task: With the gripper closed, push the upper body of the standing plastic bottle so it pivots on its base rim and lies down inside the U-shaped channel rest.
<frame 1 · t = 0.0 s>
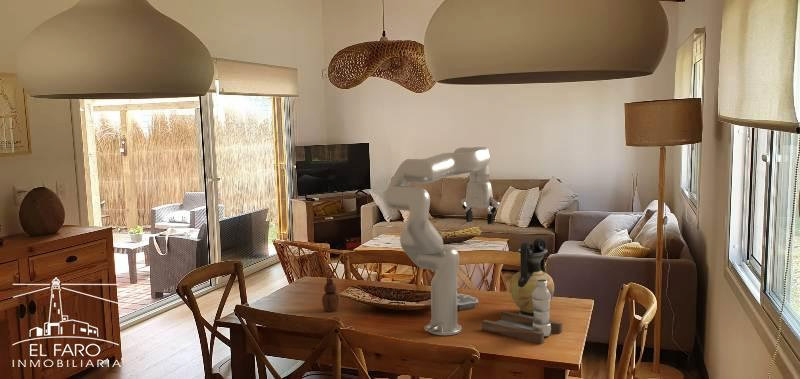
hand: (479, 222, 251), 37 cm above the table, tool pointing down, fingers open, 9 cm apart
wooden figurine: (331, 311, 265), on the table
brain slice: (453, 306, 269), on the table
amphora: (531, 315, 254), on the table
plastic bottle: (541, 336, 229), on the table
u rest: (521, 331, 235), on the table
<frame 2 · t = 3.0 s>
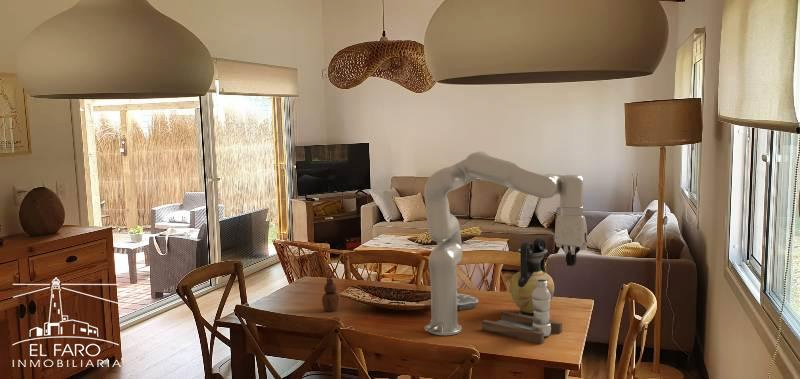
hand: (571, 265, 219), 27 cm above the table, tool pointing down, fingers closed
nothing on the table moved.
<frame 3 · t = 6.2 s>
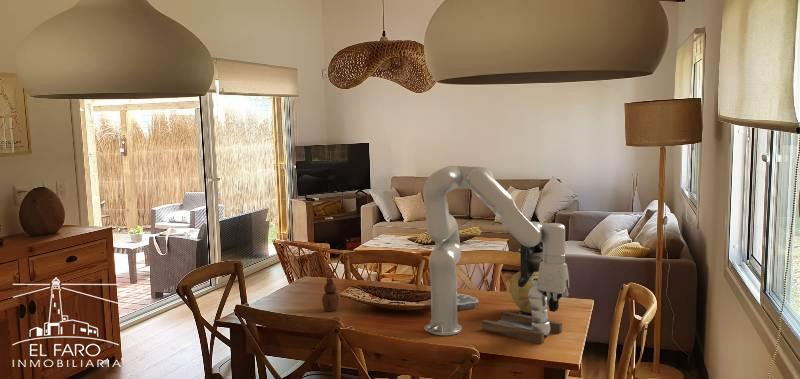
hand: (553, 310, 225), 10 cm above the table, tool pointing down, fingers closed
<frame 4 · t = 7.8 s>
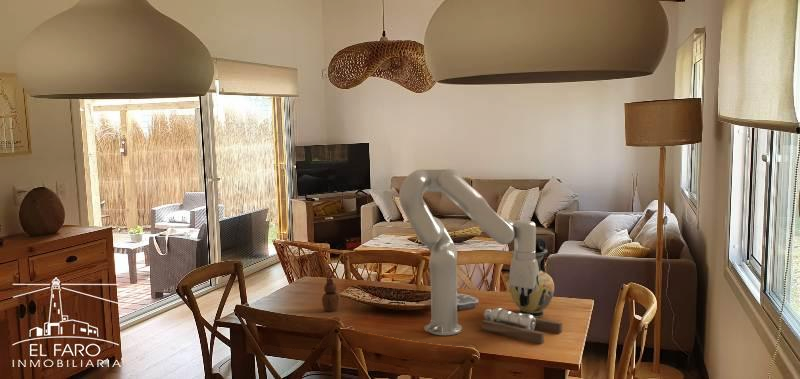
hand: (524, 305, 233), 10 cm above the table, tool pointing down, fingers closed
plastic bottle: (534, 324, 230), point 4 cm above the table, touching u rest
everything else where it was.
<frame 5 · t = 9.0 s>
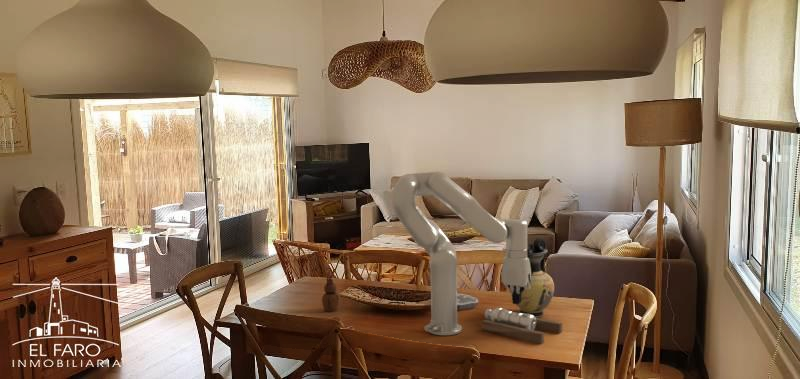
hand: (516, 303, 235), 10 cm above the table, tool pointing down, fingers closed
nothing on the table moved.
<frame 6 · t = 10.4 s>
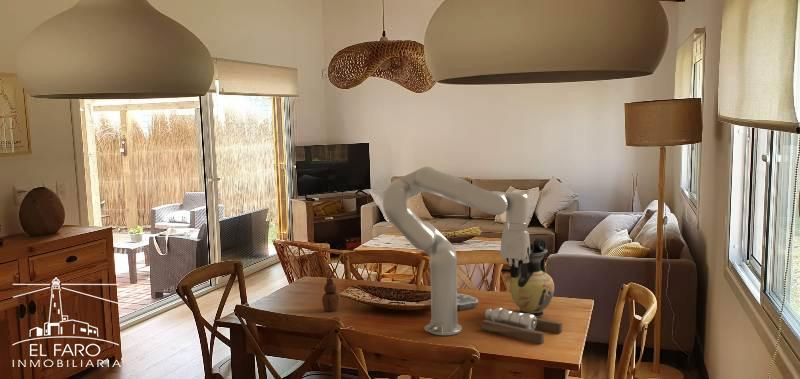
hand: (514, 276, 234), 20 cm above the table, tool pointing down, fingers closed
nothing on the table moved.
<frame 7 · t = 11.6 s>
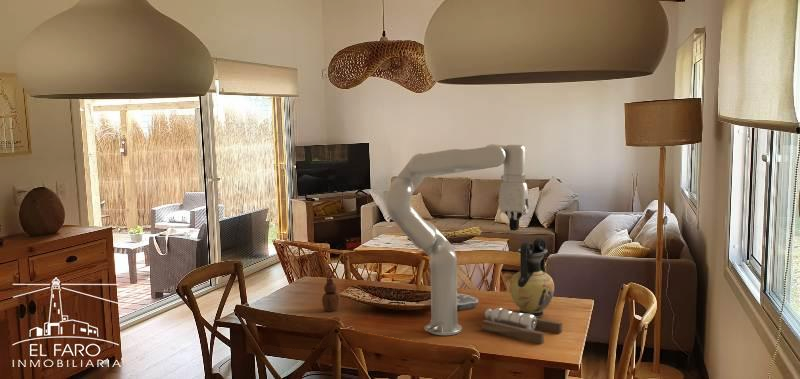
hand: (514, 229, 233), 37 cm above the table, tool pointing down, fingers closed
nothing on the table moved.
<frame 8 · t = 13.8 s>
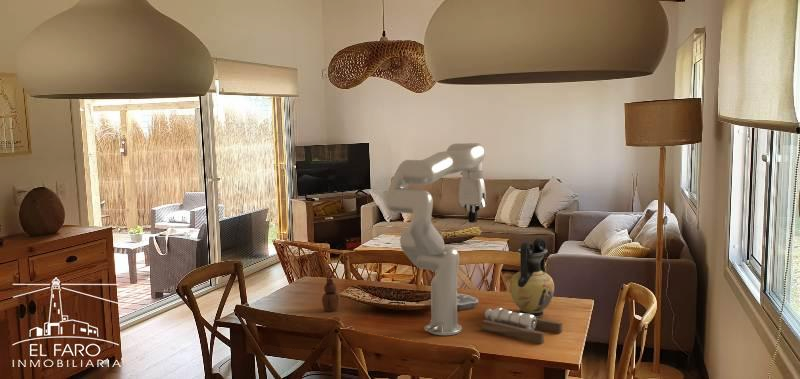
hand: (472, 222, 251), 37 cm above the table, tool pointing down, fingers closed
nothing on the table moved.
at the end: plastic bottle tilted 89°; plastic bottle inside the target area on the u rest (2.2 cm from its centre), point 3.8 cm above the u rest's base; the gripper is holding nothing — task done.
